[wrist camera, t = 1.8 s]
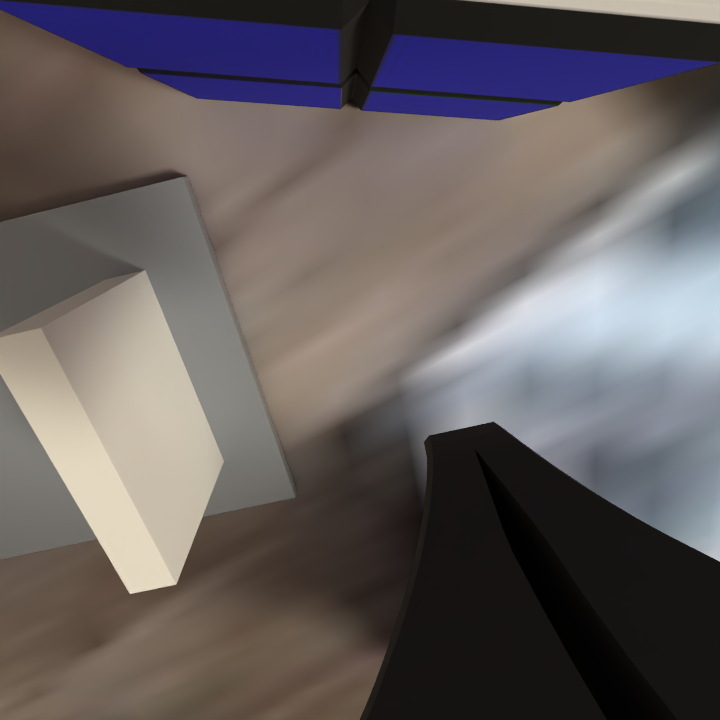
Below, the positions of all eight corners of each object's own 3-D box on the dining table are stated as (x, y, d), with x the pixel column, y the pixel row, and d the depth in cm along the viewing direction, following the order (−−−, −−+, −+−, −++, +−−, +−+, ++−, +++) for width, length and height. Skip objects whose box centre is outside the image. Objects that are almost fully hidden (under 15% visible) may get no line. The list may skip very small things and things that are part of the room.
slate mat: (296, 489, 20) (295, 497, 20) (-6, 553, 21) (-14, 562, 20) (187, 176, 15) (182, 176, 15) (-207, 273, 16) (-224, 277, 15)
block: (223, 460, 19) (176, 584, 13) (186, 469, 19) (123, 595, 13) (145, 270, 16) (40, 327, 10) (100, 280, 16) (-28, 343, 10)
